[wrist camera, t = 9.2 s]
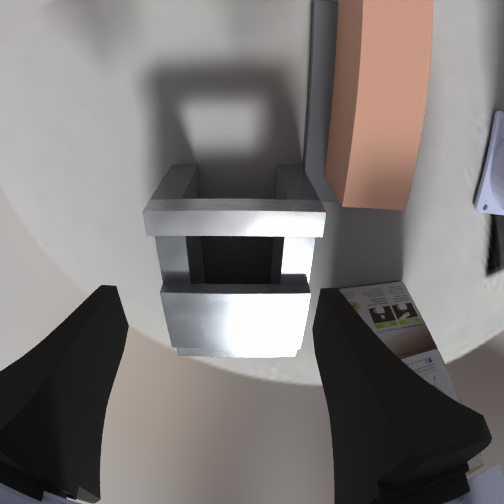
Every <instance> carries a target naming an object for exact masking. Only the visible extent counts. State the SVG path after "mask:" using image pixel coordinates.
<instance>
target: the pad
mask: <svg viewBox="0 0 504 504" xmlns="http://www.w3.org/2000/svg"><path fill="white" fill-rule="evenodd" d="M337 19H338V3H335V2H329V1H322V0H314V1H313V5H312V37H311V61H310V80H309V97H308V113H307V127H306V141H305V154H304V166H303V168H304V170H305V171H306V173H307V175H308V177H309V179H310V181H311V183H312V185H313V187H314V189H315V191H316V193H317V195H318V197H319V199H320V201H326V202H339V201H338V199H337V197H336V196H335V194H334V193H333V191H332V189H331V188H330V186H329V185H328V183H327V181H326V180H325V178H324V174H325V166H326V157H327V148H328V139H329V130H330V120H331V109H332V98H333V85H334V72H335V58H336V41H337Z"/></svg>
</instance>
